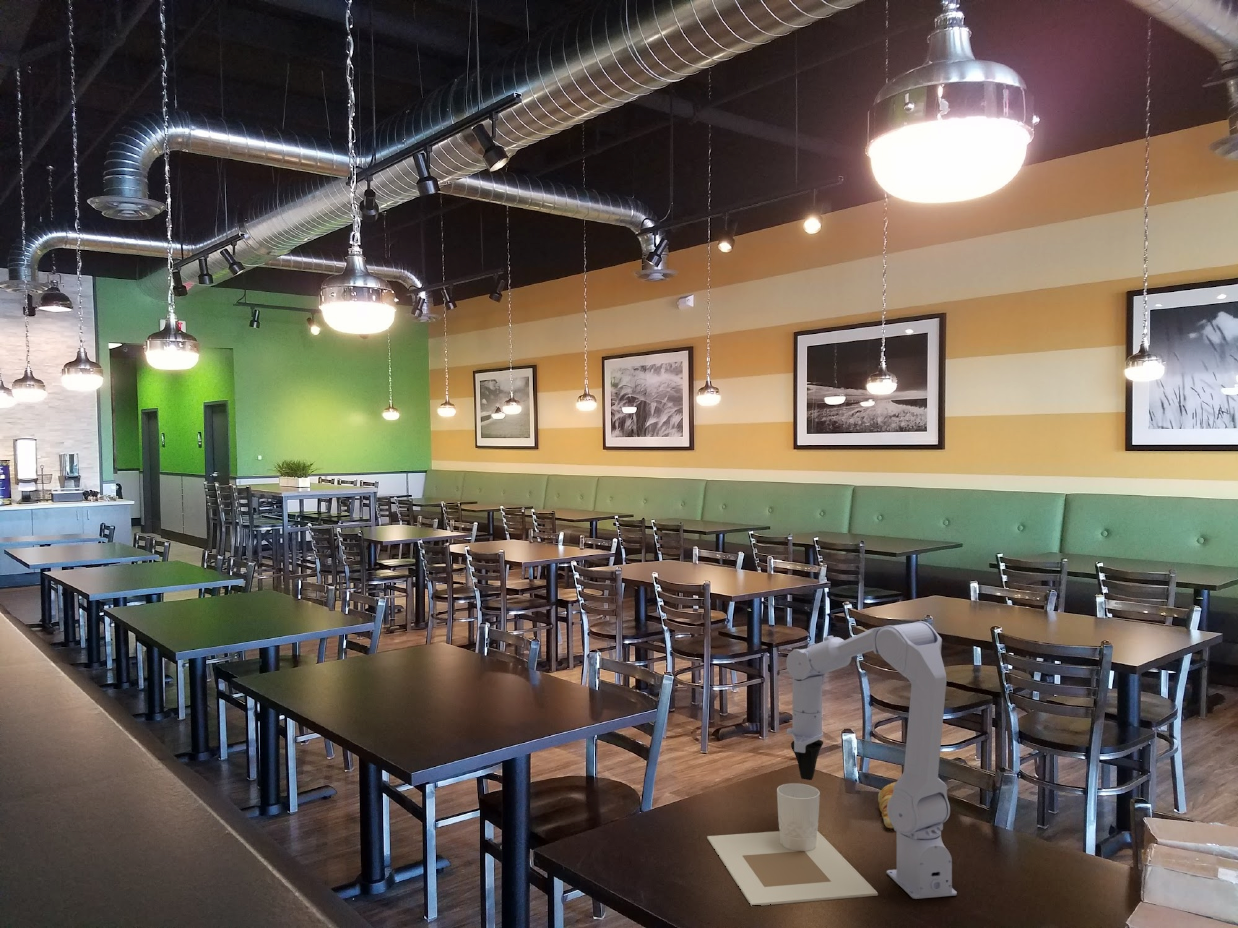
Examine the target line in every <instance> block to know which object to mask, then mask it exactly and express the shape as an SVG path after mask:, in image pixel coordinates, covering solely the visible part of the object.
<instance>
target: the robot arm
mask: <svg viewBox="0 0 1238 928" xmlns="http://www.w3.org/2000/svg"><path fill="white" fill-rule="evenodd" d="M942 644H943V639H942V637H941V636H940V635H939V634H938V633H937V631H936V630H935V629H934V627H933V626H932V625H931V624H929V623H928V622H926V621H922V620H920V621H914V622H912V623H911V622H910V623H902V624H895V625H884V626H880V627H872V628H870V629H868V630H866V631H864V632H861V633H859V634H856V635H854V636H852V637H849V638H847V639H843V638H841V637H837V636H835V637H834V635H827V636H825V637H823V641H821V642H819V643H815V642H812V643H808V644H807V648H802V649H801V648H800V649H798V648H796V649H795V648H794V649H793V650H792V651H790V652H789V653H788V655H787V656H786V661H785V665H786V668H787V669H786V670H787V672H788V674H789V675H790V677H792V728H791V727H789V728H787V729H786V732H785V733H786V734H787V735H791V736H792V739H793V741H791V743H790V747H791V750H792V751H793V754H794V756H795V758H796V761H797V765H798V771H799V775H800V779H801V780H807V781H813V779H814V775H815V772H816V766H817V761H818V757H819V754H820V751H821V749H822V747H823V746H824V741H823V740H822V739H823V738H824V732H823V685H824V683H825V677H826V675H827V674H828V673H830V672H833V671H836V670H839V669H842V668H845V667H847V666H849V665H850V663H851V661H852V657H855V656H859V655H862V654H865V653H866V654H867V653H869V652H873V653H874V654H875V655H877V654H878V655H879V656H880V657H881V658H882V659H883V660H884V661H885V662H886V663H887V664H889V665H890V666H891V667H892V668H893V669H895V670H896V671H897V672H899V674H900V675H902V677H904V678H906V679H907V680H908V681H909V683H910V684H911V685H910V686H911V687H910V697H909V709H908V720H907V721H908V722H907V731H906V743H905V753H904V754H905V757H904V764H903V765H904V767H903V772H902V774H901V775H900V777H899V778H898V780H897V781H895V782H896V784H895V785H894V788H893V794H892V797H891V798H890V800H889V801H888V804H887V814H888V817H889V820H890V822H891V824H892V825H893V827H894V828H893V830H894V832H896V869H888V870H886V874H887V875H888V876H889V877H890V878H891V879H892V880H893V881H894V882H895V883H896V884H897V885H898V886H900V887H901V888H902V889H903V891H905V893H907V894H908V895H909V896H910V897H911V898H912V899H915V900H917V899H918V900H919V899H928V898H929V899H930V898H941V897H952V896H957V895H958V894H957V893H958V892H957V891H956V890H955V889H954V888H953V859H952V855H951V853H950V851H949V850H948V849H947V848H946V846H945V845H944V843H943V840H942V831H943V829H944V823H945V822H946V821H947V820H949V817H950V815H951V806H950V802H949V800H948V785H947V784H946V783H945V782H944V781H943V780H942V779H940V777H939V767H940V757H941V745H942V735H943V725H944V724H943V723H944V722H943V721H944V715H945V714H944V711H945V701H946V692H947V691H946V690H947V673H946V672H947V671H946V669H945V664H944V661H943V658H942Z"/></svg>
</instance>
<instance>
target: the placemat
mask: <svg viewBox="0 0 1238 928" xmlns="http://www.w3.org/2000/svg"><path fill="white" fill-rule="evenodd" d="M706 839H707V841H708V842H709V843H710V844H711V846H712V848H713V849H715V850H714V851H715V852H716V854H717V856H718V855H719V856H718V857H719V858H720V860H721V862H722V863H723V865H724V867H725V866H726V867H725V868H726V870H727V871H728V873H729V874H730V876H731V878H732V879H733V881H734V882H735V884H736V885H737V887H738V886H739V887H738V888H739V890H740V889H741V890H740V891H741V893H742V894H743V896H744V898H745V899H746V900H747V902H748V903H750V904H749V905H750V907H753V906H752V905H761V906H768V905H769V906H770V904H771V906H773V905H781V904H782V905H783V904H794V903H806V902H818V901H819V902H820V901H827V900H828V901H829V900H838V899H853V898H863V897H864V898H865V897H873V896H879V893H878V892H877V890H876V889H874V887H873V886H872V885H871V884H870V883H869V882H868V881H867V880H866V879H865V878H864V876H862V875H861V874H860V873H859V872H858V870H856V869H855V868H854V866H852V865H851V863H849V862H848V860H847V859H845V858H844V856H843V855H842V853H840V852H839V851H838V850H837V849H836V848H835V847H834V846H833V845H832V844H831V843H830V842H829V841H828V840H827V839H826V838H825V836H823V835H822V834H821V833H820V832H819V831H817V841H816V847H815V848H814V849H812V850H809V851H795V850H790V849H787V848H785V847H784V846H783V845H782V844H781V843H780V830H777V831H764V832H749V833H735V834H721V835H719V834H718V835H707V836H706Z"/></svg>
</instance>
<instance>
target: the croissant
mask: <svg viewBox="0 0 1238 928" xmlns="http://www.w3.org/2000/svg"><path fill="white" fill-rule="evenodd" d="M896 782H897V781H894V782H891V783H888V784H887V785H885V786H884V787H882V789H880V791H879V792H878V795H877V798H878V799H877V801H878V803H879V806H878V809H879V811H880V812H881V816H882V819H883V824H884V826H885V827H886V828H888V829H894V827H893V825H892V824H891V822H890V820H889V817H888V814H887V804H888V801H889V800H890V798H891V797H892V794H893V788H894V785H895V784H896Z"/></svg>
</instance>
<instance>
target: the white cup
mask: <svg viewBox="0 0 1238 928" xmlns="http://www.w3.org/2000/svg"><path fill="white" fill-rule="evenodd" d="M820 794H821V792H820V790H819V789H818V788H817V787H815V786H813V785H809V784H807V783H806V784H804V783H797V782H791V783H784V784H781V785H779V786H778V787H777V788H776V799H777V817H778V819H777V820H778V821H777V822H778V828H779V831H780V843H781V844H782V845H783V846H784V847H785V848H787V849H790V850H795V851H809V850H812V849H814V848H815V847H816V841H817V831H818V830H819V817H820V816H819V815H820V796H821V795H820ZM818 832H819V831H818Z"/></svg>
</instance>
